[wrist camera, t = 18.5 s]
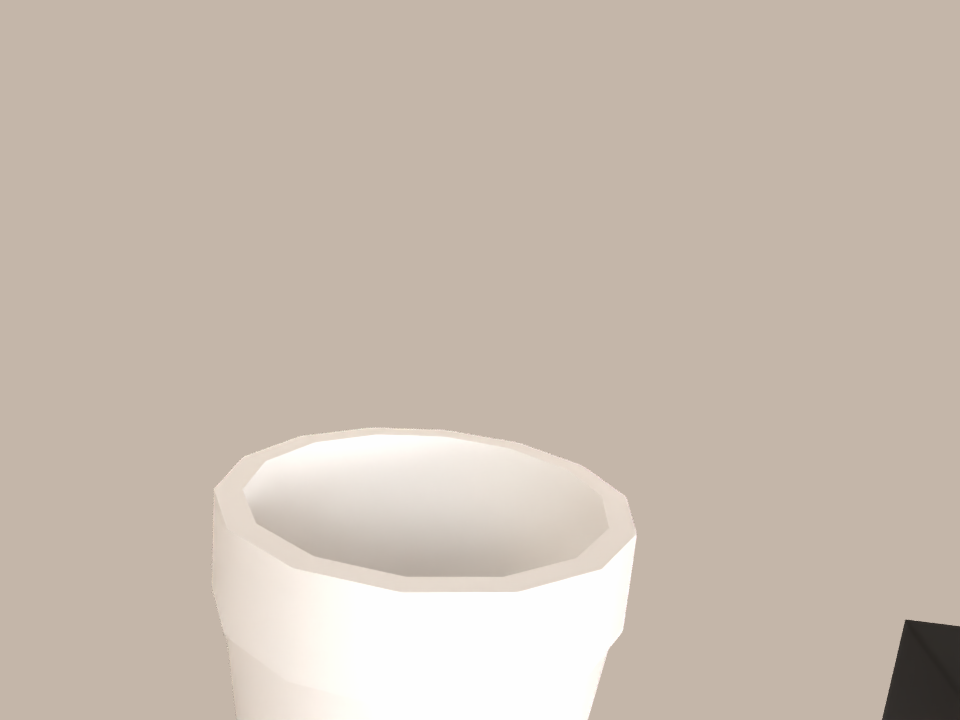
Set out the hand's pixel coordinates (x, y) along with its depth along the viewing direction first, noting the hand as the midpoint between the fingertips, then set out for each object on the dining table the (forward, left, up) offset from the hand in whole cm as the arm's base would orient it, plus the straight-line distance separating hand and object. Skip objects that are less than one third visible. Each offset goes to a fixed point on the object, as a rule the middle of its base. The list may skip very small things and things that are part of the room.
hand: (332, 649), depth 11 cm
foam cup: (-2, +10, -15) cm, 18 cm away
